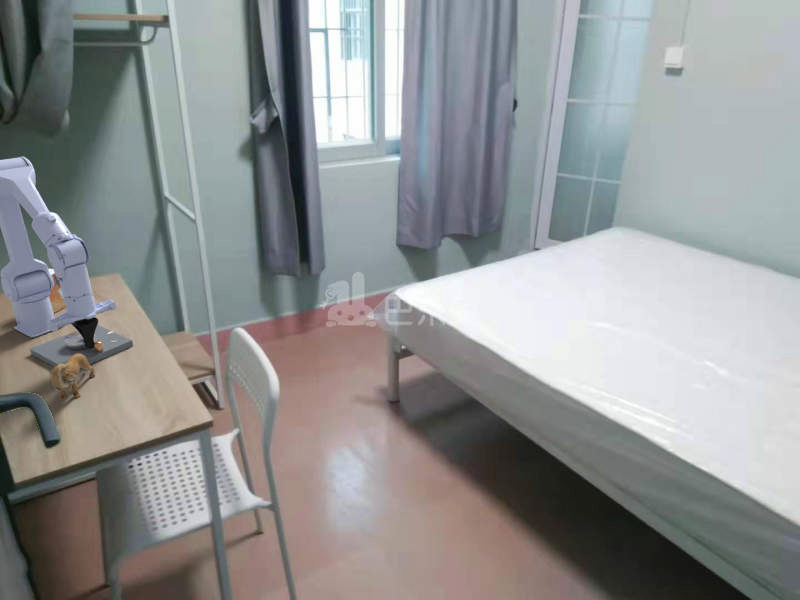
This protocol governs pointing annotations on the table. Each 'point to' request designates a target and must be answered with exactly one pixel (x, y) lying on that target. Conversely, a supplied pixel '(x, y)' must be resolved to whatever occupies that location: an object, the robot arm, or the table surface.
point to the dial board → (60, 354)
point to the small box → (56, 294)
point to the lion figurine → (69, 374)
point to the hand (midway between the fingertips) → (90, 347)
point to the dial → (81, 342)
